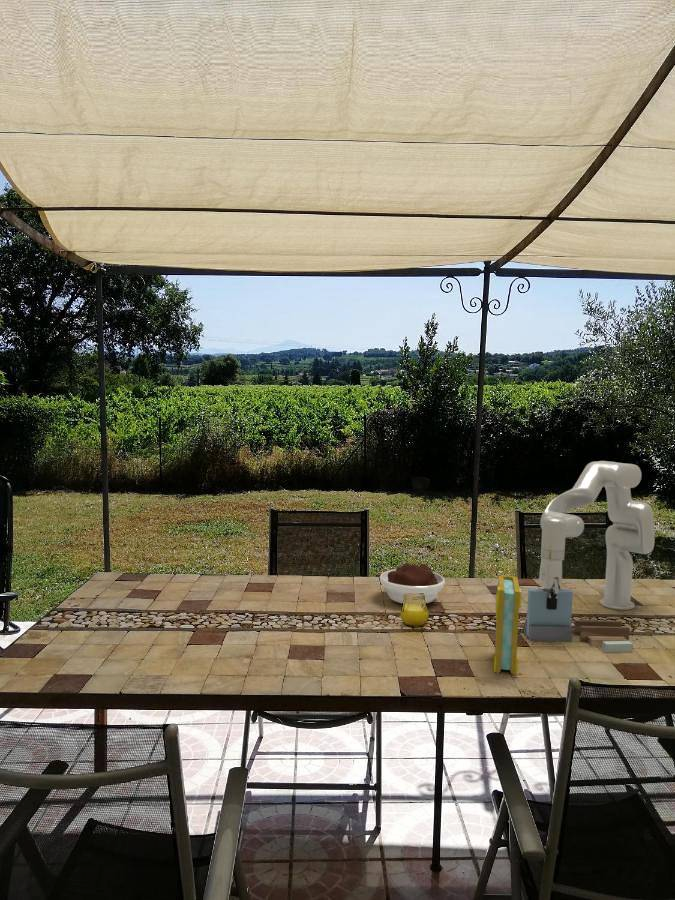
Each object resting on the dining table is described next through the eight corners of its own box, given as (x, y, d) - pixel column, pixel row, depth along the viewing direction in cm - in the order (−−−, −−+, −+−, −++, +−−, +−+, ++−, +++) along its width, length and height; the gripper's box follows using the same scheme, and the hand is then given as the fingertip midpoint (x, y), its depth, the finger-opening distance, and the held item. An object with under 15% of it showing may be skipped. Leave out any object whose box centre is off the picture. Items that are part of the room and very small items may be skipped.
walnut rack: (573, 634, 244) (574, 619, 244) (620, 635, 244) (621, 620, 244) (580, 641, 237) (581, 627, 237) (628, 642, 237) (629, 628, 237)
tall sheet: (526, 634, 242) (528, 588, 240) (567, 635, 242) (569, 589, 241) (528, 637, 239) (530, 591, 237) (570, 638, 239) (572, 591, 238)
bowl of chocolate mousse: (365, 600, 275) (366, 562, 273) (405, 587, 293) (406, 551, 292) (418, 616, 258) (419, 576, 257) (456, 601, 276) (458, 563, 275)
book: (517, 674, 209) (521, 592, 207) (493, 672, 211) (497, 590, 208) (514, 653, 226) (518, 576, 223) (493, 651, 227) (496, 574, 225)
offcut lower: (587, 643, 237) (587, 636, 237) (622, 643, 237) (623, 636, 237) (591, 647, 233) (591, 640, 233) (627, 647, 234) (627, 640, 234)
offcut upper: (602, 641, 230) (606, 644, 228) (628, 640, 232) (632, 643, 229) (601, 650, 231) (605, 653, 228) (628, 649, 232) (632, 652, 229)
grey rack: (524, 633, 244) (525, 619, 243) (565, 633, 244) (565, 619, 244) (530, 640, 237) (530, 626, 236) (571, 641, 237) (572, 627, 237)
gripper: (534, 547, 246) (531, 599, 248) (548, 560, 229) (545, 615, 231) (555, 548, 246) (553, 599, 248) (572, 560, 229) (568, 615, 231)
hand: (549, 606), depth 239 cm, fingers open, 3 cm apart
